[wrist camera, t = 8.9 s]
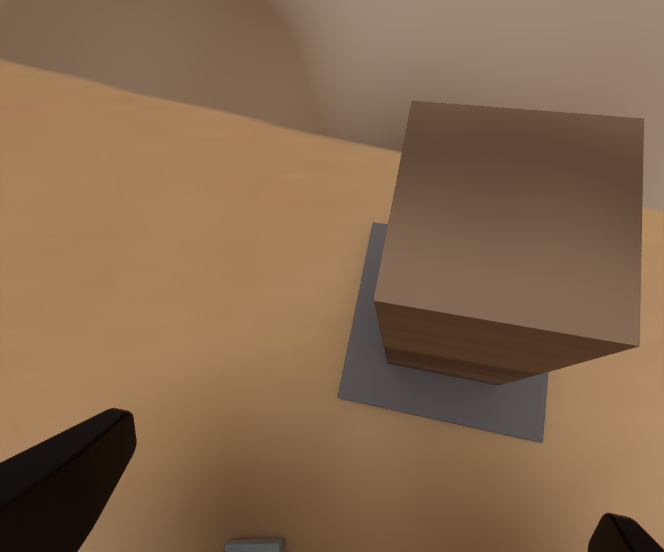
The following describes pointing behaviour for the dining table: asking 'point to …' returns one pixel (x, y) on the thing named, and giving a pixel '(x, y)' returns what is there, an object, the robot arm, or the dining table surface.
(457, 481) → the dining table surface
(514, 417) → the mat
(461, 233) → the walnut block
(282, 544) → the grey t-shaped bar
